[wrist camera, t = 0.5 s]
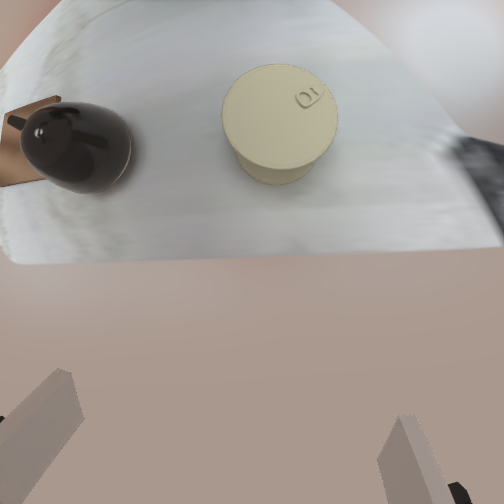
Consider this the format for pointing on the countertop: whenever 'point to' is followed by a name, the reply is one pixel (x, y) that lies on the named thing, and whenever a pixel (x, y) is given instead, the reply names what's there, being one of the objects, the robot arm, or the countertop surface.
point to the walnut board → (18, 147)
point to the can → (279, 122)
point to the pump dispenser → (75, 145)
